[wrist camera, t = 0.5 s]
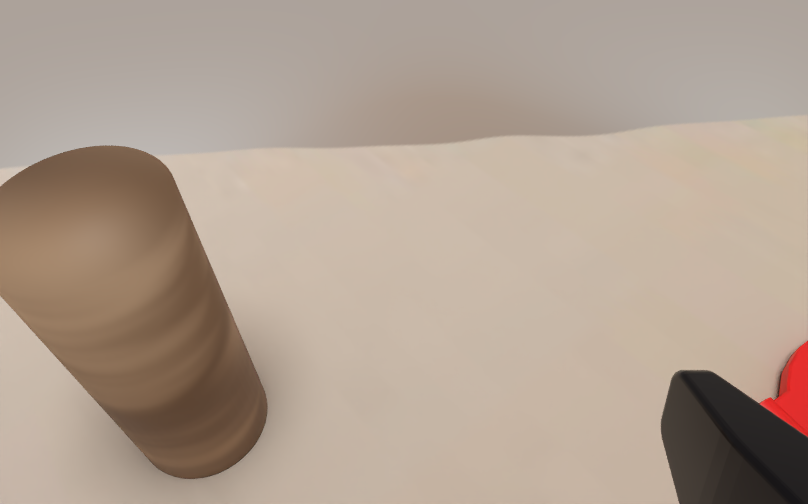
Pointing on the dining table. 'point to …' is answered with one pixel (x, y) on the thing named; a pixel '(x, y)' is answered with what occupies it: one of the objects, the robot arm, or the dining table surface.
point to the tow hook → (793, 392)
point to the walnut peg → (131, 304)
